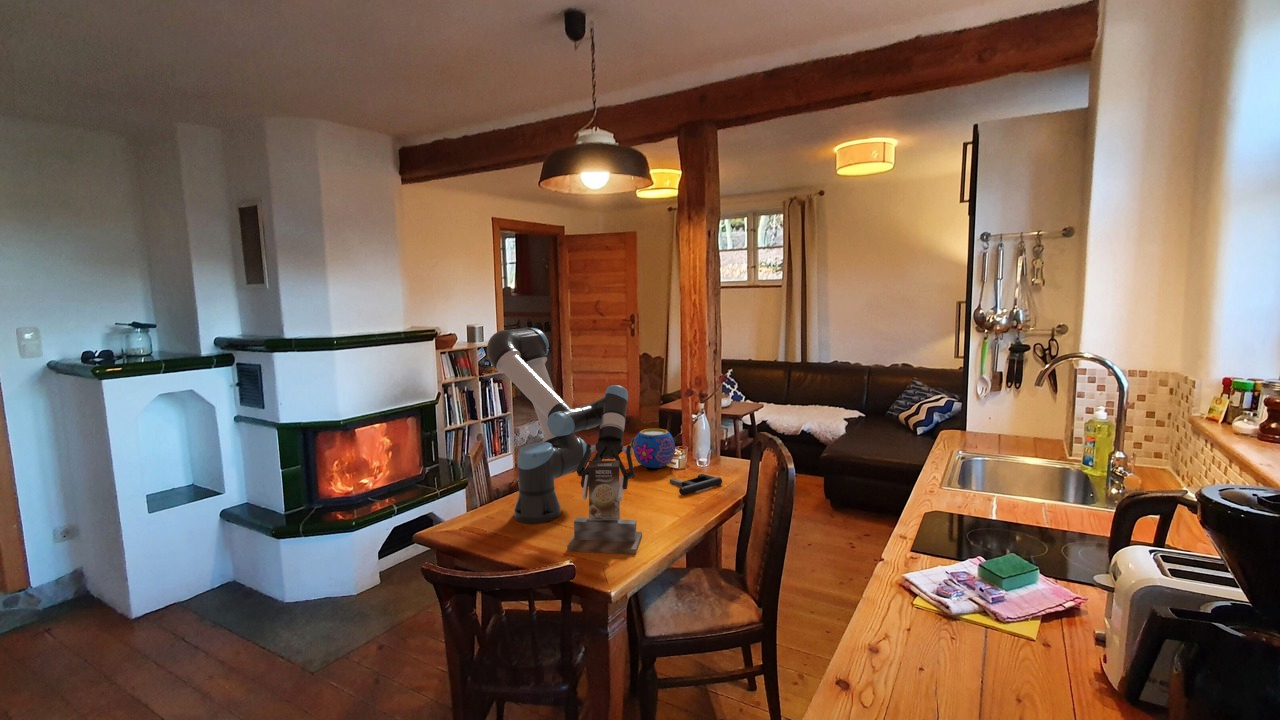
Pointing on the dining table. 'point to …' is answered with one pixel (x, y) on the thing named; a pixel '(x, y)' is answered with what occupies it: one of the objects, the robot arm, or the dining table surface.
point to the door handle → (697, 484)
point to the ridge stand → (605, 536)
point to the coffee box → (604, 490)
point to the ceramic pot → (653, 447)
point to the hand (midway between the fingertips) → (602, 498)
